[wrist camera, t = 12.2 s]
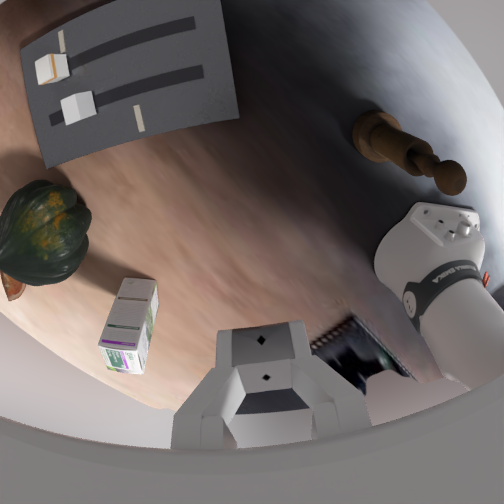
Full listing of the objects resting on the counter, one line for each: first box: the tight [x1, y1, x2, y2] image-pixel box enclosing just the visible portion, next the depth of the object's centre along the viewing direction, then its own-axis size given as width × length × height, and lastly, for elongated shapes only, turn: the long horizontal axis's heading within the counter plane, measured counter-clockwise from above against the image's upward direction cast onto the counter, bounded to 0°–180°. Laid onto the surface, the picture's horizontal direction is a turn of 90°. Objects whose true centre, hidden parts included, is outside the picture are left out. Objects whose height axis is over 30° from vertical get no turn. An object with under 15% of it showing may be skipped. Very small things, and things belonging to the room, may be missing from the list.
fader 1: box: [35, 54, 70, 85], centre depth 22 cm, size 2×3×4 cm
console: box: [20, 0, 239, 169], centre depth 27 cm, size 26×18×3 cm
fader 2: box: [60, 91, 96, 125], centre depth 25 cm, size 2×3×4 cm, turn 8°
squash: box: [0, 180, 92, 286], centre depth 33 cm, size 14×15×15 cm
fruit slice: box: [0, 270, 26, 301], centre depth 41 cm, size 8×7×5 cm
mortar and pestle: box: [353, 110, 467, 196], centre depth 27 cm, size 7×6×18 cm
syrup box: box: [98, 277, 159, 375], centre depth 40 cm, size 6×6×14 cm
